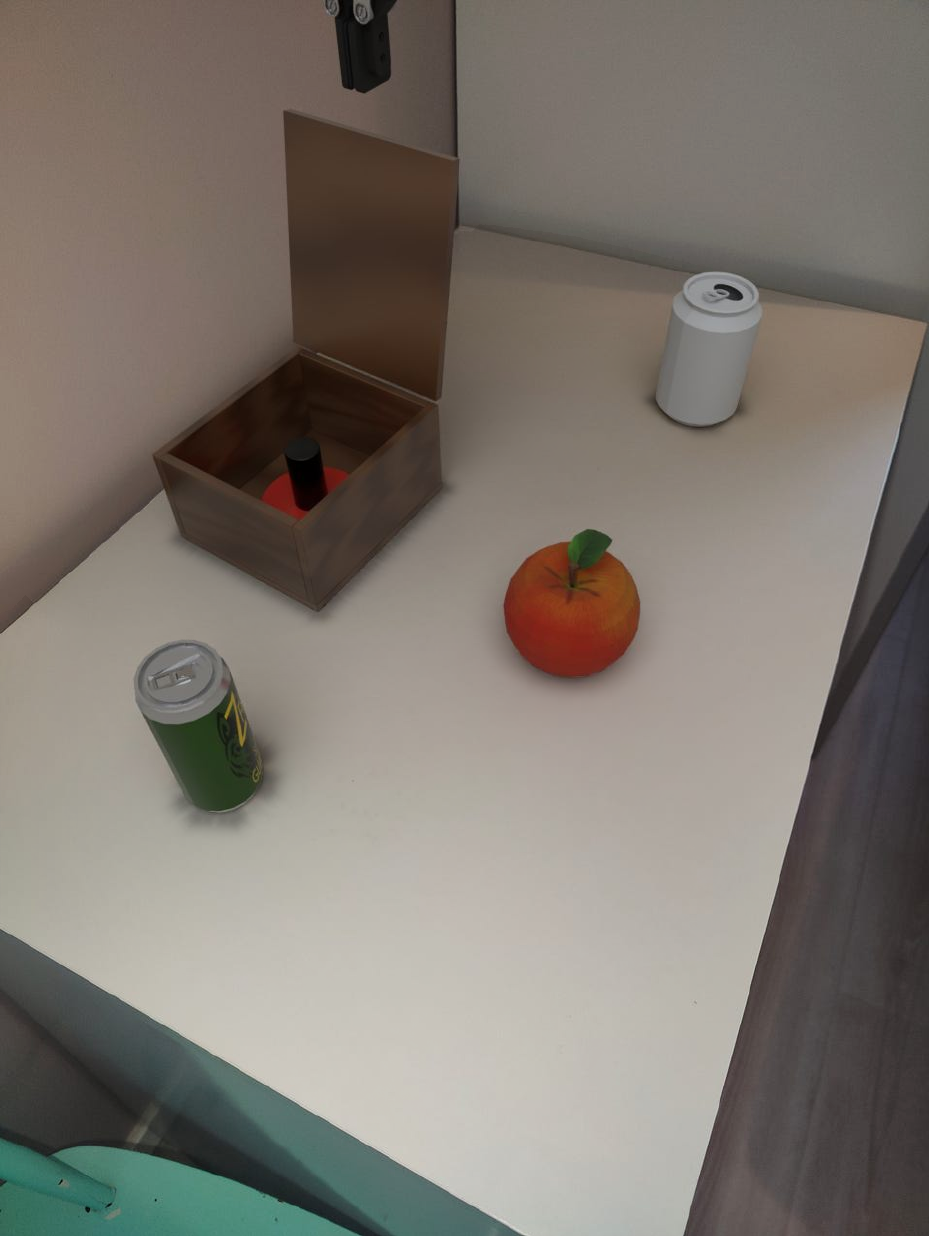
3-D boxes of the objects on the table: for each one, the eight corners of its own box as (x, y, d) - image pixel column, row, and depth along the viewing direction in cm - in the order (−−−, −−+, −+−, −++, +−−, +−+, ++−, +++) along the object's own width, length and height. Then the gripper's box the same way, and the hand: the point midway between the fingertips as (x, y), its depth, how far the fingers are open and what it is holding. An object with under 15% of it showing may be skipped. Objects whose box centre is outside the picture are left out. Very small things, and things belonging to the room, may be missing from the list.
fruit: (474, 652, 66) (473, 559, 58) (553, 578, 71) (562, 483, 63) (579, 724, 62) (594, 635, 54) (656, 641, 67) (679, 547, 59)
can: (752, 412, 83) (787, 294, 74) (693, 443, 81) (720, 324, 71) (696, 372, 87) (722, 255, 78) (637, 400, 85) (656, 283, 75)
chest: (317, 612, 69) (300, 530, 62) (181, 537, 74) (151, 454, 67) (442, 488, 77) (439, 404, 71) (312, 428, 83) (297, 345, 76)
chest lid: (453, 160, 58) (460, 158, 59) (282, 110, 64) (290, 108, 64) (435, 401, 70) (441, 398, 71) (293, 342, 75) (299, 339, 76)
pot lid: (252, 539, 73) (236, 482, 68) (273, 469, 78) (260, 412, 73) (355, 543, 72) (346, 486, 68) (369, 473, 78) (362, 416, 73)
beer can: (194, 829, 57) (140, 728, 48) (175, 762, 61) (120, 655, 51) (275, 797, 59) (238, 693, 50) (252, 733, 62) (213, 624, 53)
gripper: (168, -317, 46) (243, 79, 60) (405, -300, 40) (426, 131, 54) (268, -333, 50) (316, 43, 64) (497, -320, 44) (494, 88, 58)
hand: (367, 83), depth 59 cm, fingers closed
